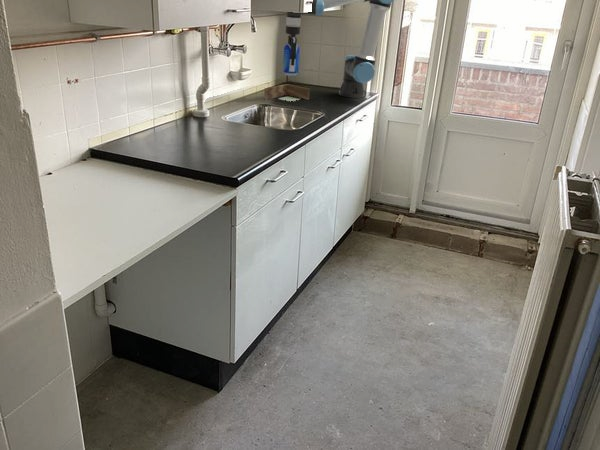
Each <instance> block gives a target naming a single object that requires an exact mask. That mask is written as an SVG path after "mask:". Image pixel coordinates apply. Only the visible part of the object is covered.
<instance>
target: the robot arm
mask: <svg viewBox="0 0 600 450" xmlns="http://www.w3.org/2000/svg"><path fill="white" fill-rule="evenodd" d="M394 1H395V0H313V3H312V12H308V13H293V12H287V11H286V18H285V20H284V21H286V23H285V24H286V26H285V34H286V35H288V36H287V43H288V44H289V45H290V46H291V57H289V59H290V68H289V71H291V72H294V71H295V58H296V44H297V41H298V39H297V36H296V35H300V33H301V23H302V22H301V19H302V15H309V16H316V17H317V16H322V15H323V14H324V12H325V10H327V9H331V8H335V7H339V6H344V5H348V4H349V5H350V4H352V3H358V2H362V3H365V2H366V3H367V2H368V4H369V7H370V8H369V12H368V17H367V21H366V23H365V28H364V31H363V35H362V40H361V43H360V46H359V50H358V53H356V54H355V55H352V54H351V55H349V54H348V55H346V56H345V58H344V68H343V77H342V79H343V80H342V83H341V85H340V88H339V91H338V92H339V93H338V95H339V96H341V97H344V98H350V99H351V98H352V99H360V98H364V97H365V88H364V84H367V83H369V82H371V81H372V80H373V79H374V76H375V73H376V70H375V62H376V58H375V54H376V53H375V52H376V49H377V46H378V42H379V38H380V35H381V31H382V27H383V25H384V20H385V16H386V14H387V11H389V10H390V9H391V6H392V3H394Z"/></svg>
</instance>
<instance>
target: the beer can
mask: <svg viewBox="0 0 600 450" xmlns="http://www.w3.org/2000/svg"><path fill="white" fill-rule="evenodd" d="M300 49H301V48H300V47H299V44H298V43H296V58H295V71H294V72H291V71H289V68H290V59H289V57H291V46H290V45H289V44H288V42H287V43H286V44H285V45H284V48H283V57H282V59H283V60H282V73H283V75H284V76H290V77H292V76H293V77H296V76H297V75H298V74H299V63H300Z"/></svg>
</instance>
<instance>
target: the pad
mask: <svg viewBox="0 0 600 450" xmlns="http://www.w3.org/2000/svg"><path fill="white" fill-rule="evenodd" d="M277 99H278V100H281V101H285V100H286V102H289V101H290V103H292V102H291V101H293V102H296V100H297V101H300V100H301V98H297V97H293V96H288V95H286V96H282V97H277Z"/></svg>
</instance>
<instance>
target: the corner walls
mask: <svg viewBox="0 0 600 450" xmlns="http://www.w3.org/2000/svg"><path fill="white" fill-rule="evenodd" d="M310 90H311V89H310V88H307V87H305V86H304V87H302V86H299V85H293V84H289V83H285V84H280V85H274V86H269V87H265V88H264V92H263V96H264V97H263V98H264V100H267V101H268V100H270V99H271V100H272V99H274V98H282V97H285V96H288V95H289V96H288V97H293V96H294V97H293V98H297V97H298V99H302V98H303V100H310ZM284 95H285V96H284Z"/></svg>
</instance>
